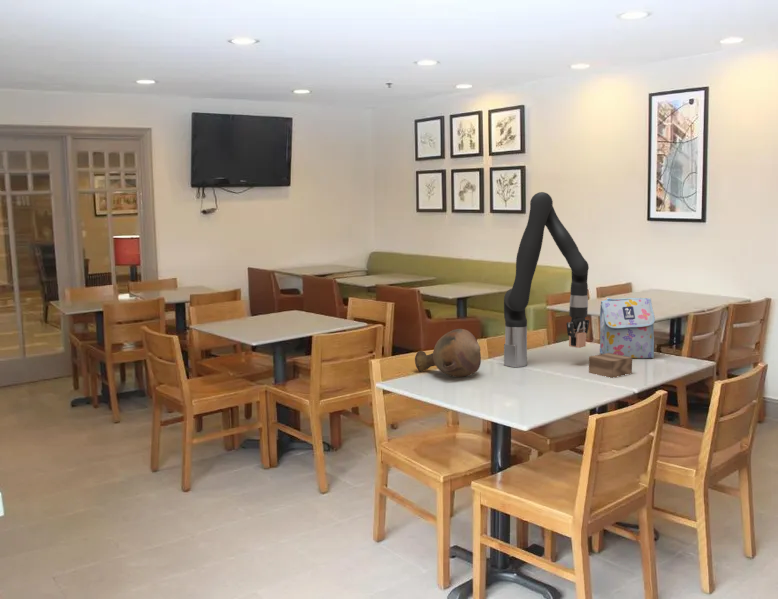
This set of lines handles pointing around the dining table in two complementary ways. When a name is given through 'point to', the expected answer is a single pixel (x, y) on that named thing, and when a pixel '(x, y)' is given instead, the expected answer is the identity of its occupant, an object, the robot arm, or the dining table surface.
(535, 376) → the dining table surface
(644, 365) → the dining table surface
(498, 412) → the dining table surface
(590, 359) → the walnut box
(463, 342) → the jug
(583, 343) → the terracotta block
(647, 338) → the lunch bag
